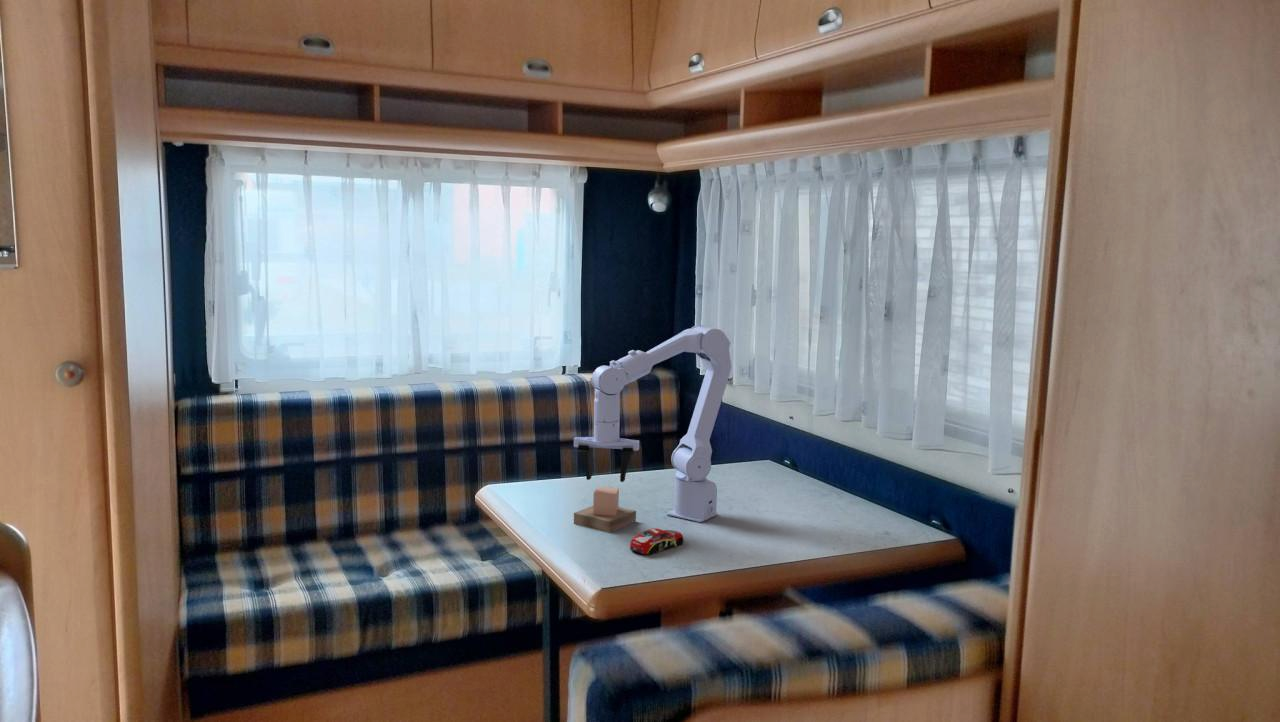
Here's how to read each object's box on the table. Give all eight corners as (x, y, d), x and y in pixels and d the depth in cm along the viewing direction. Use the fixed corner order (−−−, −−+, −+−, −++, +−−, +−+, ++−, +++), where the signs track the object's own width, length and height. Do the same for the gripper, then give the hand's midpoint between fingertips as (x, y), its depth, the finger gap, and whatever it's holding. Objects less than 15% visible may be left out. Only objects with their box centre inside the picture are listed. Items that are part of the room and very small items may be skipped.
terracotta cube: (618, 509, 210) (618, 487, 210) (615, 515, 205) (615, 493, 205) (596, 508, 211) (597, 486, 210) (593, 514, 206) (593, 492, 205)
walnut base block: (635, 523, 210) (636, 510, 209) (609, 534, 202) (609, 521, 201) (600, 515, 215) (600, 503, 215) (573, 525, 207) (573, 513, 207)
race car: (670, 538, 199) (670, 520, 199) (688, 545, 196) (689, 526, 195) (625, 551, 190) (625, 532, 190) (643, 558, 187) (644, 539, 186)
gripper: (641, 418, 208) (640, 477, 210) (578, 415, 210) (578, 473, 212) (636, 424, 201) (635, 485, 203) (571, 421, 203) (571, 481, 205)
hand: (605, 479), depth 207 cm, fingers open, 7 cm apart
